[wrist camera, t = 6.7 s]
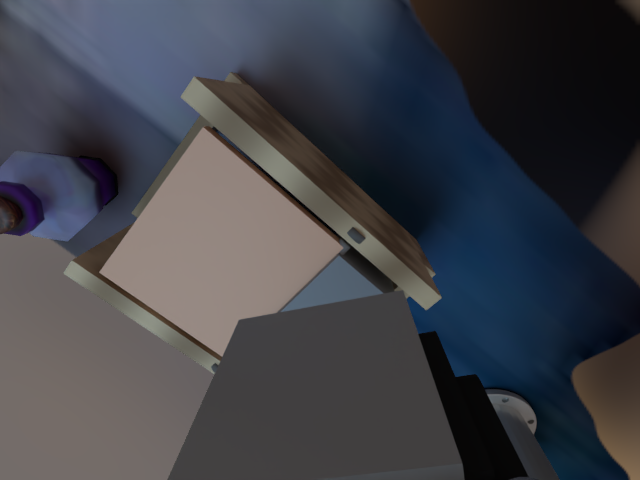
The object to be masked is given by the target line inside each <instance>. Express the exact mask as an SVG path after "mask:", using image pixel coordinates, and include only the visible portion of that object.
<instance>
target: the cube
mask: <svg viewBox="0 0 640 480" xmlns="http://www.w3.org/2000/svg"><path fill="white" fill-rule="evenodd" d="M168 480H464V472H463V464H462V461H461V458H460V455H459V452H458V449H457V446H456V443H455V440H454V437H453V435H452V432H451V429H450V426H449V423H448V420H447V417H446V414H445V411H444V408H443V405H442V402H441V399H440V397H439V394H438V391H437V388H436V385H435V382H434V379H433V376H432V373H431V370H430V367H429V364H428V361H427V359H426V356H425V353H424V350H423V347H422V344H421V341H420V338H419V335H418V332H417V329H416V326H415V323H414V321H413V318H412V315H411V312H410V309H409V306H408V303H407V300H406V297H405V294H404V291H403V290H401V291H395V292H390V293H384V294H379V295H373V296H367V297H362V298H356V299H351V300H345V301H340V302H334V303H329V304H323V305H317V306H312V307H306V308H301V309H295V310H290V311H284V312H279V313H273V314H268V315H262V316H256V317H251V318H245V319H240V320H239V321H238V323H237V325H236V327H235V330H234V332H233V334H232V336H231V339H230V341H229V343H228V345H227V348H226V350H225V352H224V354H223V356H222V359H221V361H220V363H219V365H218V368H217V370H216V372H215V375H214V377H213V379H212V381H211V383H210V386H209V388H208V390H207V392H206V395H205V397H204V399H203V401H202V404H201V406H200V408H199V410H198V412H197V415H196V417H195V419H194V422H193V424H192V426H191V428H190V430H189V433H188V435H187V437H186V439H185V442H184V444H183V446H182V448H181V451H180V453H179V455H178V458H177V460H176V462H175V464H174V466H173V469H172V471H171V473H170V475H169V478H168Z"/></svg>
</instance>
